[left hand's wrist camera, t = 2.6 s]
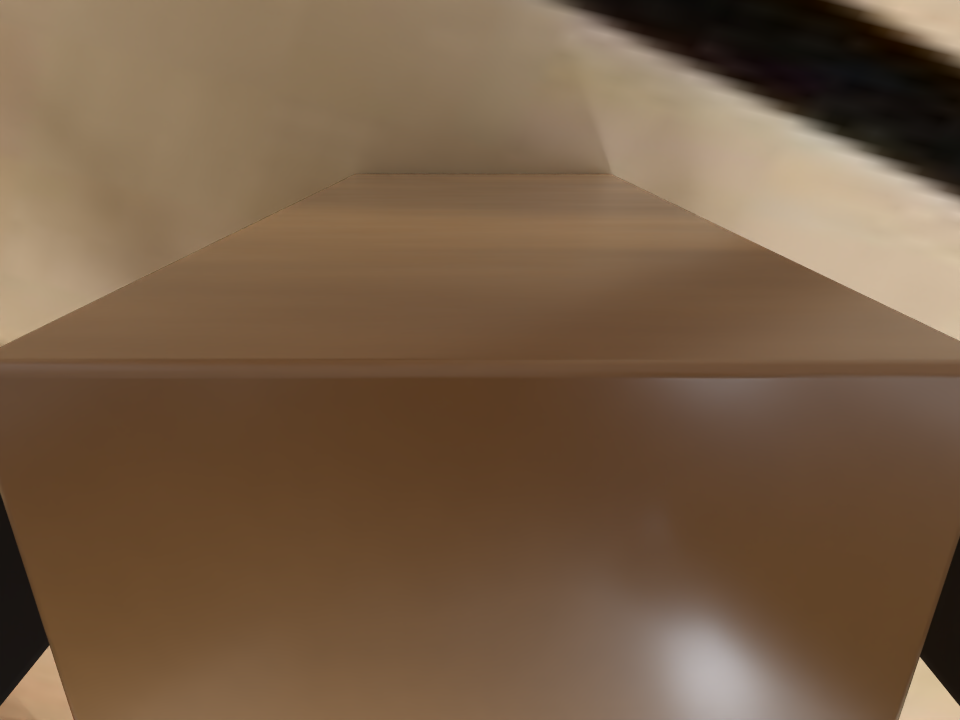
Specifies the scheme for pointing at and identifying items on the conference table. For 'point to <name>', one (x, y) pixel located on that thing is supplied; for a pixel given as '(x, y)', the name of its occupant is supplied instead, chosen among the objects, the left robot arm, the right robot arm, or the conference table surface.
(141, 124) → the conference table surface
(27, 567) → the box
